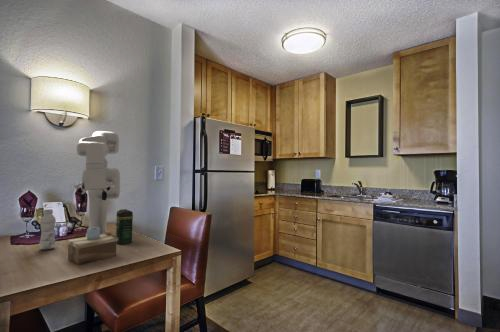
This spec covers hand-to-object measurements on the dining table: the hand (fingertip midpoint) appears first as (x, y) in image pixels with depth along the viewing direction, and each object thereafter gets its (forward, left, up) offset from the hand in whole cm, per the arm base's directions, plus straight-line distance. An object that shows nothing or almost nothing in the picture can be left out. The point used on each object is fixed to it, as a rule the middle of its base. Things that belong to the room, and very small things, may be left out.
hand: (93, 201), depth 131 cm
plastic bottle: (-22, -12, -26) cm, 36 cm away
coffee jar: (-5, +19, -26) cm, 32 cm away
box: (+8, -3, -25) cm, 27 cm away
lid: (+8, -3, -18) cm, 20 cm away
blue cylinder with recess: (+8, -3, -17) cm, 19 cm away
